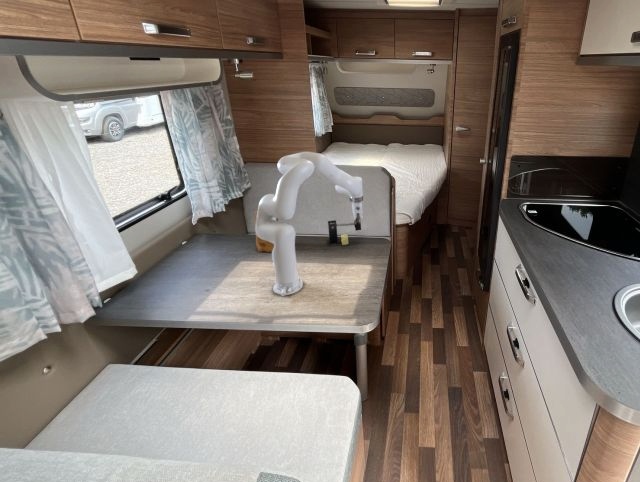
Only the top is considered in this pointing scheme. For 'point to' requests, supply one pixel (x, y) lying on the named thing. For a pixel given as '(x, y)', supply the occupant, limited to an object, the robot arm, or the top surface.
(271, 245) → the coffee package
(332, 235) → the slicer
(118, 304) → the top surface
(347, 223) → the lever
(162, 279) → the top surface
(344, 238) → the butter
